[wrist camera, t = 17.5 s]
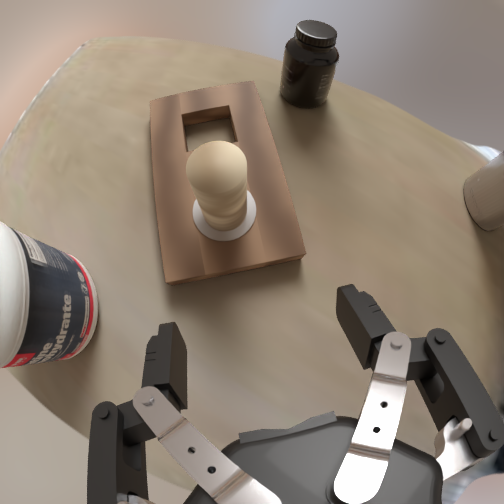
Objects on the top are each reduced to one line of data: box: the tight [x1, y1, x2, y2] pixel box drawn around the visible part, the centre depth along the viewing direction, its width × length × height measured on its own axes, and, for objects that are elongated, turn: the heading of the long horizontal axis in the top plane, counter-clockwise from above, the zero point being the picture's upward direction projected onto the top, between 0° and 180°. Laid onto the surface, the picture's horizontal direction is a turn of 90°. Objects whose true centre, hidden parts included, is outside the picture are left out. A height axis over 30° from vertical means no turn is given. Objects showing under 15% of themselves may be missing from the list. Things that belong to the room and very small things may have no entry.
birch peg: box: [186, 141, 247, 231], centre depth 24 cm, size 4×4×9 cm
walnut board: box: [150, 81, 306, 285], centre depth 31 cm, size 14×24×3 cm, turn 12°
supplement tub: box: [0, 222, 98, 368], centre depth 19 cm, size 13×13×18 cm
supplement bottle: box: [280, 20, 339, 108], centre depth 30 cm, size 7×7×12 cm
